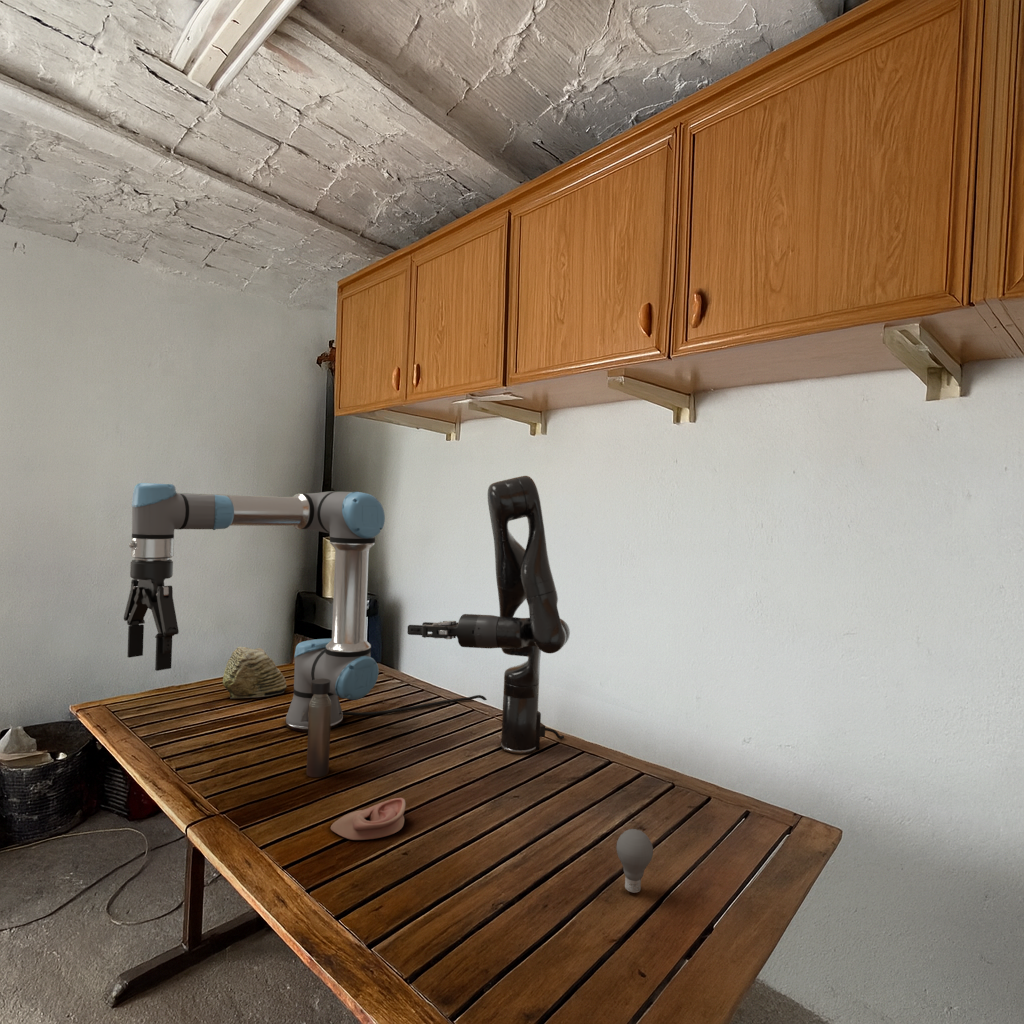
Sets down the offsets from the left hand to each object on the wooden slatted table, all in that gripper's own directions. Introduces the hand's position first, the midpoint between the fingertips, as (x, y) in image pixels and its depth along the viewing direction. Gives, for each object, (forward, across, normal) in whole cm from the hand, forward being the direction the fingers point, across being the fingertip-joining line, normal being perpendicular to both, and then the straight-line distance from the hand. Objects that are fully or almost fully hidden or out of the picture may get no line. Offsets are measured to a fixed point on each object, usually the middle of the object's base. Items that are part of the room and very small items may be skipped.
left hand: (148, 662), depth 129 cm
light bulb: (+28, +90, +41) cm, 103 cm away
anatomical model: (+28, +42, +24) cm, 56 cm away
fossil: (+28, -47, +50) cm, 74 cm away
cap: (+7, +14, +31) cm, 35 cm away
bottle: (+28, +14, +31) cm, 44 cm away
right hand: (-5, +28, +48) cm, 55 cm away
